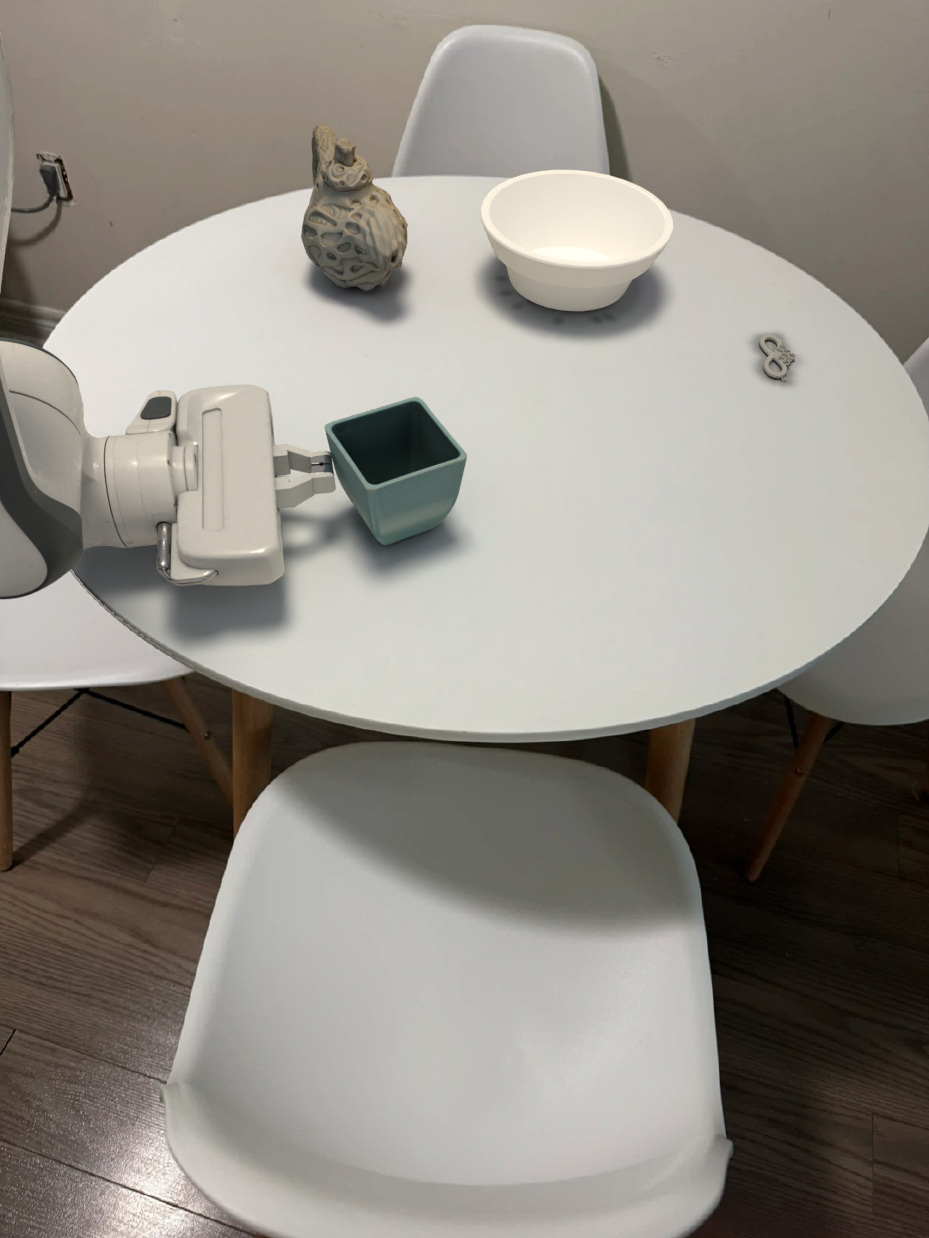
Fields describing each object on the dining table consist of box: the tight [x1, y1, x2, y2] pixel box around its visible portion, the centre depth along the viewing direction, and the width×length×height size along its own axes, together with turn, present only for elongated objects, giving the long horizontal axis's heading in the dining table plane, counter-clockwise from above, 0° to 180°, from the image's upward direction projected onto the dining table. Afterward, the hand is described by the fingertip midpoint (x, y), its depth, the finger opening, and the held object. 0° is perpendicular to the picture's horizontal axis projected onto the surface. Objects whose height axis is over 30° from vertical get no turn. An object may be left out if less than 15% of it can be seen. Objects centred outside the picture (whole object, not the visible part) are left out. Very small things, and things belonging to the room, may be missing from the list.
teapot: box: [300, 124, 409, 292], centre depth 95 cm, size 21×12×15 cm, turn 26°
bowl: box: [479, 169, 675, 312], centre depth 98 cm, size 21×21×8 cm
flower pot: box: [324, 396, 468, 546], centre depth 73 cm, size 9×9×9 cm
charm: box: [759, 333, 797, 381], centre depth 93 cm, size 8×1×4 cm
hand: (333, 471), depth 72 cm, fingers closed
